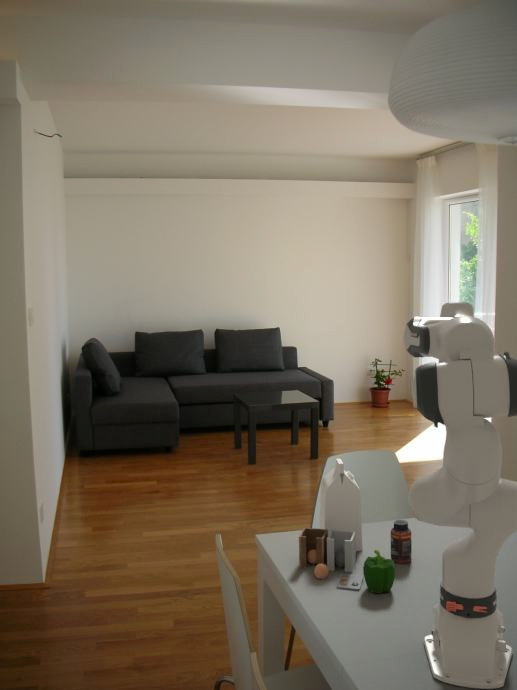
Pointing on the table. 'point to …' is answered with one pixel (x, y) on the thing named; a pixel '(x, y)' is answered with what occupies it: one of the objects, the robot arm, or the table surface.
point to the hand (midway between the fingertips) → (455, 418)
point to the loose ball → (321, 571)
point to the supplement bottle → (401, 542)
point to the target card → (350, 582)
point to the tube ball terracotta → (312, 556)
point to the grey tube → (341, 548)
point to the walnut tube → (313, 545)
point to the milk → (341, 503)
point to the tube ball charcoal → (340, 559)
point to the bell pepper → (379, 573)
